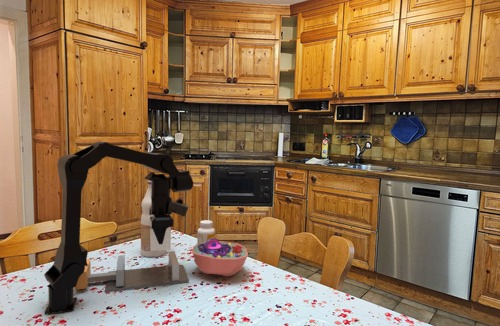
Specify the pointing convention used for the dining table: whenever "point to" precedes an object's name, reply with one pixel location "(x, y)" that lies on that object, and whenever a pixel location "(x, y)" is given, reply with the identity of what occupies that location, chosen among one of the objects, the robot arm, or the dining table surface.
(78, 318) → the dining table surface
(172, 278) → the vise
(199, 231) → the supplement bottle
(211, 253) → the cell model
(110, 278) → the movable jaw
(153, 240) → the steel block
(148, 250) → the fruit juice
